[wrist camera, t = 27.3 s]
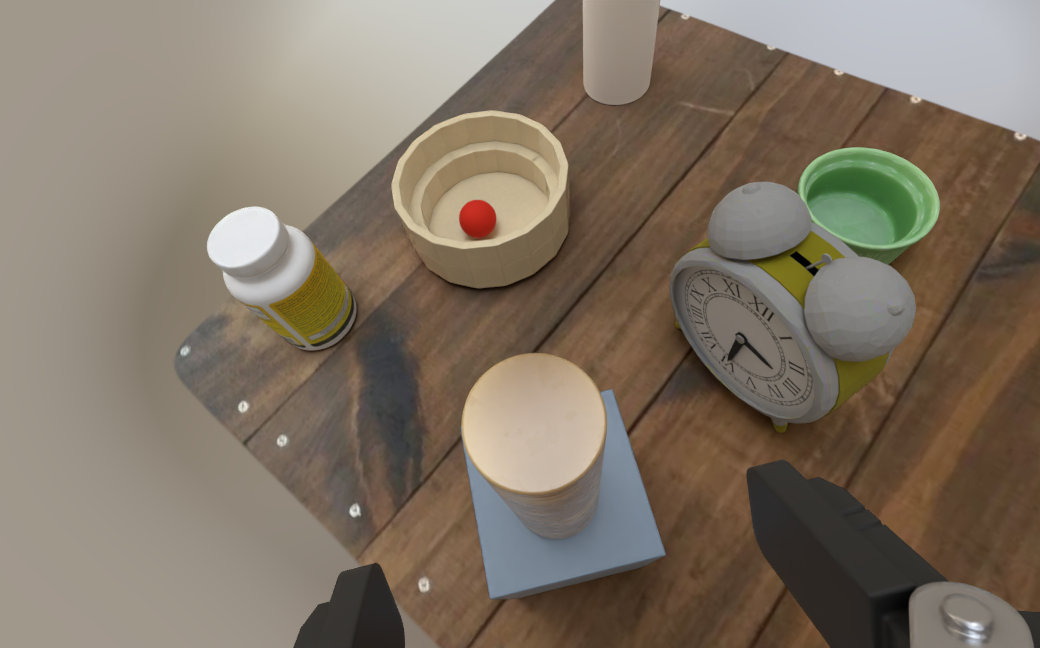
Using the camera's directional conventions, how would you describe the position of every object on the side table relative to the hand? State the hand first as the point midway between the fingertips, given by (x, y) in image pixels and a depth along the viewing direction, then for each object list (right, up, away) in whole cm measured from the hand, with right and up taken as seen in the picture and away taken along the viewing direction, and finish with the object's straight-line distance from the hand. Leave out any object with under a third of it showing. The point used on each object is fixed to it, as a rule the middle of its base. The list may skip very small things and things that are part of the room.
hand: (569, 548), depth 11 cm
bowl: (-3, +13, +34) cm, 37 cm away
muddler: (+1, -3, +14) cm, 14 cm away
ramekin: (+24, +12, +30) cm, 40 cm away
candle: (+8, +28, +40) cm, 50 cm away
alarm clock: (+15, +2, +26) cm, 30 cm away
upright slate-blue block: (+2, -7, +23) cm, 24 cm away
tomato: (-4, +13, +32) cm, 35 cm away
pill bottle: (-17, +5, +32) cm, 36 cm away
